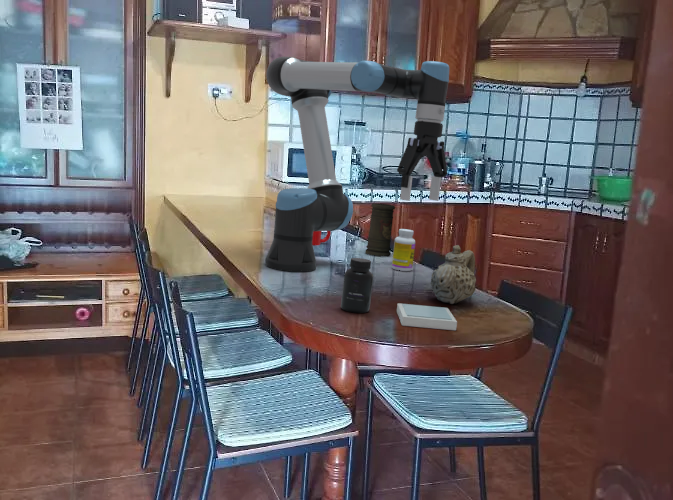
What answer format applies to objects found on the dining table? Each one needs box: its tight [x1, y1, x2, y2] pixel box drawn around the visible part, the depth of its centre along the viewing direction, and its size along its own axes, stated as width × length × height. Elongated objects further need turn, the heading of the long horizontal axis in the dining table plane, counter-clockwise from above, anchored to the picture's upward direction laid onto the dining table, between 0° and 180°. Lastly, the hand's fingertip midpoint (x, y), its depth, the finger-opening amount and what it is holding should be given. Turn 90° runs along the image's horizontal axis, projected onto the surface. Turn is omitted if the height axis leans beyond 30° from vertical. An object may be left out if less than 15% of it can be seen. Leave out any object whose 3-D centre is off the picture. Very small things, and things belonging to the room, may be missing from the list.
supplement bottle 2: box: [391, 228, 416, 272], centre depth 209 cm, size 7×7×13 cm
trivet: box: [396, 302, 458, 331], centre depth 150 cm, size 12×12×2 cm
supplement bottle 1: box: [340, 257, 374, 314], centre depth 153 cm, size 7×7×12 cm
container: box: [364, 203, 396, 257], centre depth 233 cm, size 9×9×18 cm
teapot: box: [430, 244, 477, 305], centre depth 171 cm, size 21×12×15 cm, turn 148°
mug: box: [312, 231, 332, 246], centre depth 244 cm, size 8×12×8 cm, turn 116°
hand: (419, 200), depth 179 cm, fingers open, 13 cm apart
